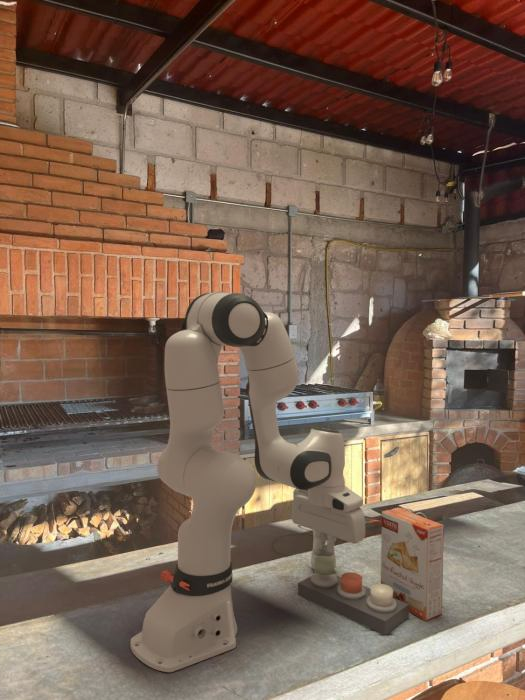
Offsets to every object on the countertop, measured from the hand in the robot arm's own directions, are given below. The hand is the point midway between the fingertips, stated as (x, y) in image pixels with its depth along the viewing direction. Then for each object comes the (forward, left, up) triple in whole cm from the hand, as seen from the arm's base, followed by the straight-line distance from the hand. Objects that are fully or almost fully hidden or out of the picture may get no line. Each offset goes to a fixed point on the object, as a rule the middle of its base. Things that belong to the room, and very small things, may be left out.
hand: (326, 550), depth 130 cm
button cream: (-1, -16, -6) cm, 17 cm away
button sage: (-1, 0, -5) cm, 5 cm away
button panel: (-1, -8, -11) cm, 13 cm away
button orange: (-1, -8, -6) cm, 10 cm away
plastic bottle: (+9, +8, -11) cm, 17 cm away
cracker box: (+10, -17, -11) cm, 23 cm away
